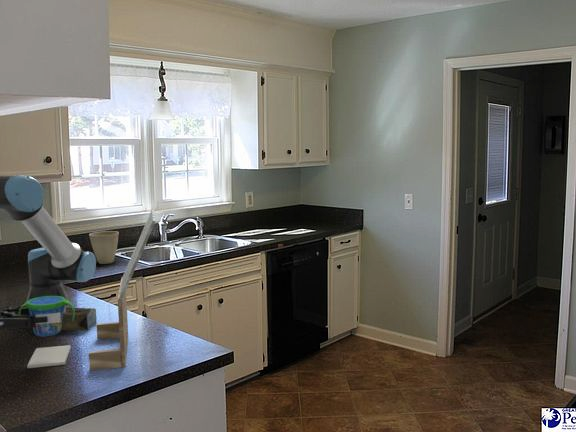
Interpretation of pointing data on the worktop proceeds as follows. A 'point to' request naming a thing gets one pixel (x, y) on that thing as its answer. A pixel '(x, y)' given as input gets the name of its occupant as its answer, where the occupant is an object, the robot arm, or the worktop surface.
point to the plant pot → (104, 245)
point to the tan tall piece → (120, 312)
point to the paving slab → (49, 356)
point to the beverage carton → (79, 319)
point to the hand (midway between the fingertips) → (62, 312)
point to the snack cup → (44, 307)
